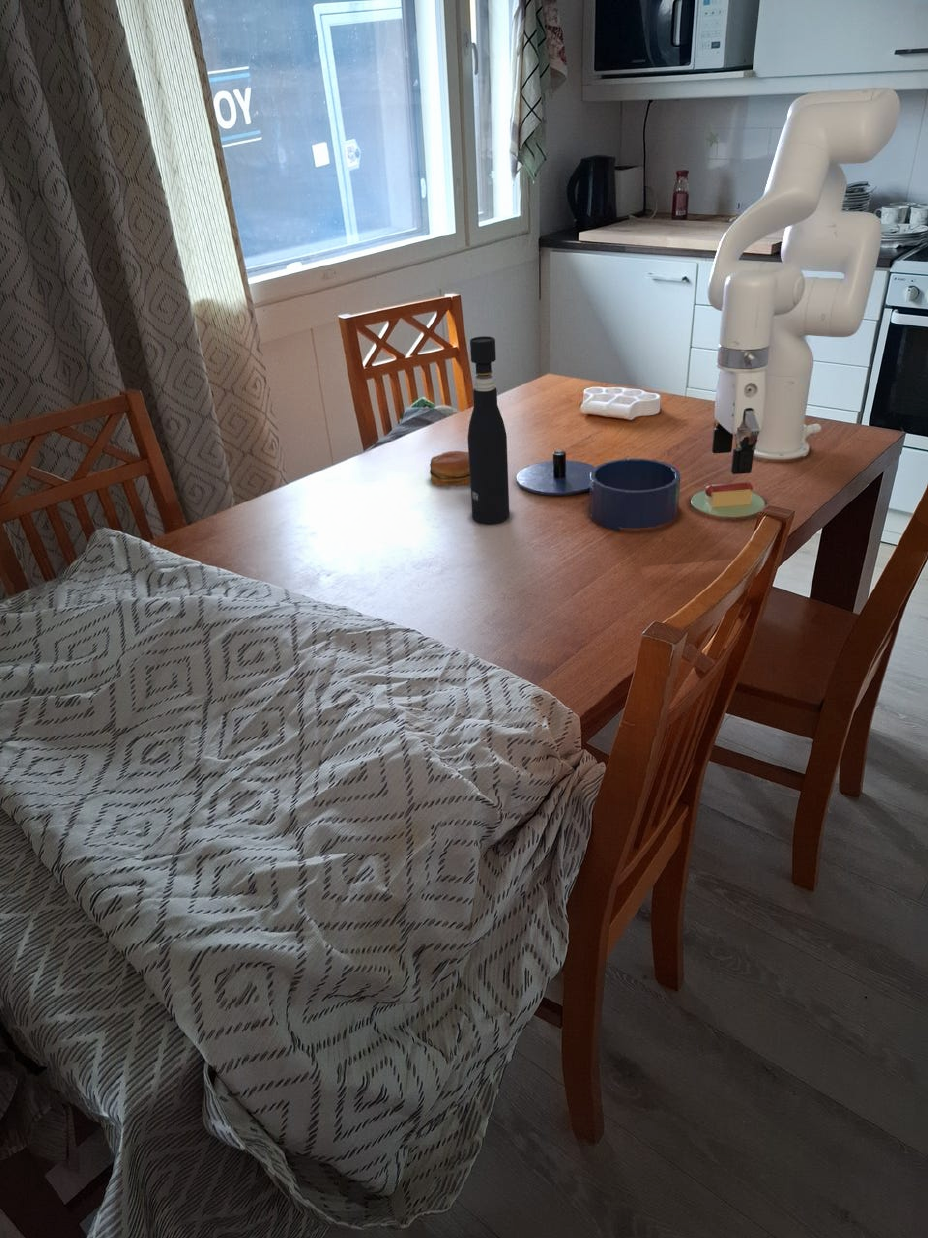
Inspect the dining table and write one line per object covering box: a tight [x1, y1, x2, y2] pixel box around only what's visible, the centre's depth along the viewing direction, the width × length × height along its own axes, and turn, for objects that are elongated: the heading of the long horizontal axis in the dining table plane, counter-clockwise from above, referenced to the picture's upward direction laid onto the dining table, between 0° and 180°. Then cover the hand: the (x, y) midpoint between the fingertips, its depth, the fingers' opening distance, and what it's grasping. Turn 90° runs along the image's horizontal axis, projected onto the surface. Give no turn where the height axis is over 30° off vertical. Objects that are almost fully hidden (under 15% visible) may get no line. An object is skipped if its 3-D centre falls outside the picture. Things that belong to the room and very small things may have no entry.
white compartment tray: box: [579, 386, 662, 421], centre depth 191 cm, size 3×18×15 cm
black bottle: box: [467, 335, 510, 526], centre depth 140 cm, size 6×6×30 cm
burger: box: [429, 450, 470, 488], centre depth 162 cm, size 10×9×5 cm
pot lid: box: [516, 450, 596, 496], centre depth 158 cm, size 16×16×6 cm
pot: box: [589, 458, 681, 532], centre depth 144 cm, size 15×15×7 cm
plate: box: [690, 489, 766, 518], centre depth 146 cm, size 12×12×1 cm
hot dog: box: [704, 481, 754, 507], centre depth 145 cm, size 8×4×3 cm, turn 94°
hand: (731, 462), depth 141 cm, fingers open, 9 cm apart
